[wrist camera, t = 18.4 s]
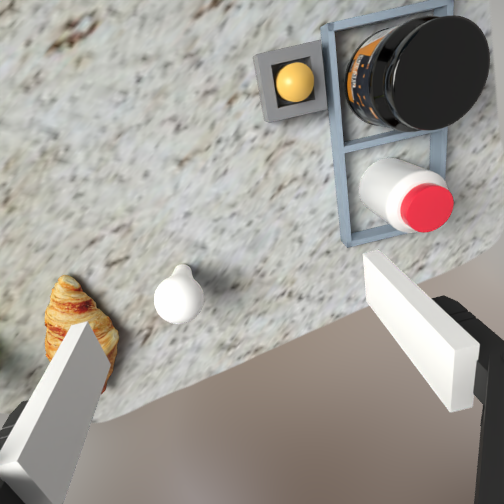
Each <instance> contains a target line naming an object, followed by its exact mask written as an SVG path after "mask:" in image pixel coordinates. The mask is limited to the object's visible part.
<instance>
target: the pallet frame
mask: <svg viewBox="0 0 504 504" xmlns="http://www.w3.org/2000/svg"><path fill="white" fill-rule="evenodd" d="M453 8H454V0H428V1H424V2H420V3H415V4H411V5H406V6H402V7H398V8H393V9H389V10H384V11H380V12H376V13H371V14H367V15H362V16H358V17H354V18H349V19H345V20H340V21H336V22H332V23H327V24H325V25H323V26H322V27H320V29H321V39H322V49H323V59H324V70H325V80H326V90H327V101H328V111H329V121H330V132H331V142H332V152H333V162H334V173H335V183H336V193H337V204H338V214H339V224H340V235H341V241H342V242H343V243H344V245H345V246H346V247H347V248H348V247H352V246H356V245H360V244H364V243H369V242H373V241H377V240H381V239H385V238H389V237H394V236H398V235H402V234H406V232H401V231H399V230H397V229H395V228H394V227H392V226H391V225H390V224H388V225H384V226H380V227H376V228H371V229H367V230H363V231H359V232H355V233H351V228H350V216H349V204H348V192H347V179H346V167H345V155H344V153H347V152H352V151H356V150H360V149H364V148H369V147H373V146H377V145H381V144H386V143H390V142H394V141H398V140H403V139H407V138H411V137H415V136H420V135H424V134H428V133H431V135H430V171H433V172H435V173H437V174H439V175H440V176H441V177H442V178H443V179H444V180H445V172H446V151H447V131H448V126H447V127H444V128H442V129H438V130H430V131H426V130H421V131H417V132H402V131H397V130H394V131H390V132H386V133H381V134H377V135H373V136H369V137H364V138H360V139H356V140H352V141H347V142H343V131H342V118H341V106H340V94H339V82H338V70H337V57H336V45H335V33H334V32H338V31H342V30H346V29H351V28H355V27H360V26H364V25H368V24H373V23H377V22H382V21H386V20H390V19H395V18H399V17H403V16H408V15H412V14H417V13H421V12H425V11H430V10H434V16H439V17H442V16H451V15H453Z"/></svg>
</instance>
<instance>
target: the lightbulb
mask: <svg viewBox="0 0 504 504" xmlns="http://www.w3.org/2000/svg"><path fill="white" fill-rule="evenodd" d="M203 303H204V294H203V290H202V288H201V286H200V285H199V283H198V282H197V281H195V280H194V279H193V276H192V271H191V268H190V267H189V266H188V265H185V264H180V265H178V266H176V267H175V269H174V272H173V273H172V275H171V277H168V278H166V279H165V280H163V281H162V282H161V283H160V285H159V286H158V287H157V289H156V292H155V295H154V304H155V308H156V310H157V312H158V314H159V315H160V316H161V317H162V318H163V319H164V320H166V321H168V322H170V323H174V324H183V323H187V322H189V321H191V320H193V319H194V318H195V317H196V316H197V315H198V314H199V313H200V311H201V309H202V307H203Z"/></svg>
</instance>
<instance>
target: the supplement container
mask: <svg viewBox="0 0 504 504" xmlns="http://www.w3.org/2000/svg"><path fill="white" fill-rule="evenodd" d="M489 66H490V53H489V47H488V43H487V40H486V38H485V36H484V34H483V32H482V31H481V29H480V28H479V27H478V26H477V25H476V24H475V23H474V22H472V21H471V20H469V19H467V18H464V17H461V16H454V15H451V16H442V17H439V16H423V17H418V18H415V19H412V20H410V21H407V22H406V23H404V24H401V25H398V26H395V27H392V28H387V29H384V30H381V31H378V32H376V33H374V34H372V35H371V36H369V37H368V38H367V39H366V40H364V41H363V42H362V43H361V44H360V45H359V47H358V48H357V49H356V51H355V52H354V54H353V55H352V57H351V59H350V61H349V63H348V66H347V69H346V73H345V80H344V90H345V96H346V100H347V103H348V105H349V107H350V109H351V110H352V112H353V113H354V114H355V115H356V116H357V117H358V118H359V119H361V120H362V121H364V122H366V123H369V124H372V125H378V126H385V127H389V128H392V129H394V130H397V131H402V132H417V131H421V130H426V131H430V130H438V129H442V128H444V127H447V126H449V125H451V124H453V123H455V122H456V121H458V120H459V119H460V118H462V117H463V116H464V115H465V114H466V113H467V112H468V111H469V110H470V109H471V108H472V106H473V105H474V104H475V102H476V101H477V100H478V98H479V96H480V95H481V93H482V90H483V88H484V86H485V83H486V80H487V77H488V72H489Z"/></svg>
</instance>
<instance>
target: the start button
mask: <svg viewBox="0 0 504 504" xmlns="http://www.w3.org/2000/svg"><path fill="white" fill-rule="evenodd" d="M274 87H275V92H276V94H277V95H278V96H279V97H280V98H281V99H283V100H286V101H292V102H299V101H302V100H304V99H306V98H307V97H308V96H309V95H310V93H311V92H312V90H313V87H314V76H313V73H312V71H311V69H310V68H309V67H308V66H307V65H305V64H303V63H299V62H296V63H292V64H288V65H285V66H283V67H282V68H280V69H279V70H278V72H277V73H276V75H275V78H274Z"/></svg>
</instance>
